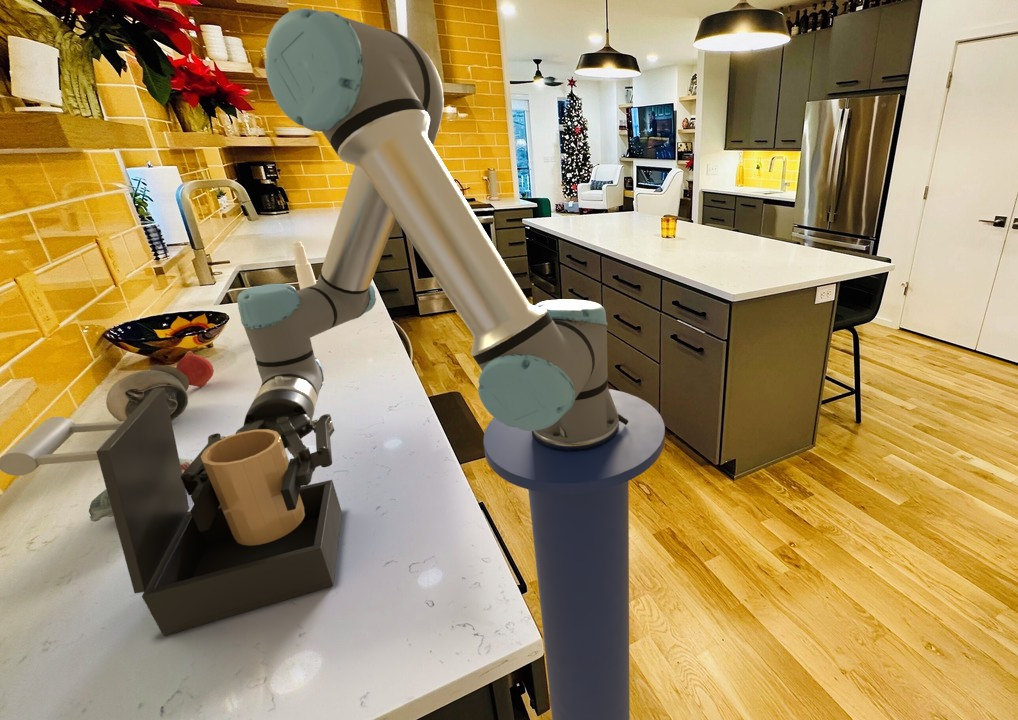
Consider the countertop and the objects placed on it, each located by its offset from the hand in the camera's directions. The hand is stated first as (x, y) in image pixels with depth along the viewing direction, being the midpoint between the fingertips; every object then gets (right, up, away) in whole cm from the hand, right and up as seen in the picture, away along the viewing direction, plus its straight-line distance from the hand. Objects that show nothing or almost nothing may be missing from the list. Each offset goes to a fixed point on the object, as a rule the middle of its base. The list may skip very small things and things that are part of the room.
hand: (245, 509), depth 53 cm
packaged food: (-27, -4, +19) cm, 34 cm away
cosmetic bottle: (-52, +28, +92) cm, 109 cm away
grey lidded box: (-4, -9, +8) cm, 13 cm away
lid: (-9, +3, 0) cm, 10 cm away
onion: (-50, +10, +52) cm, 73 cm away
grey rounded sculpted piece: (-46, +4, +39) cm, 60 cm away
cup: (-2, -4, +6) cm, 8 cm away
